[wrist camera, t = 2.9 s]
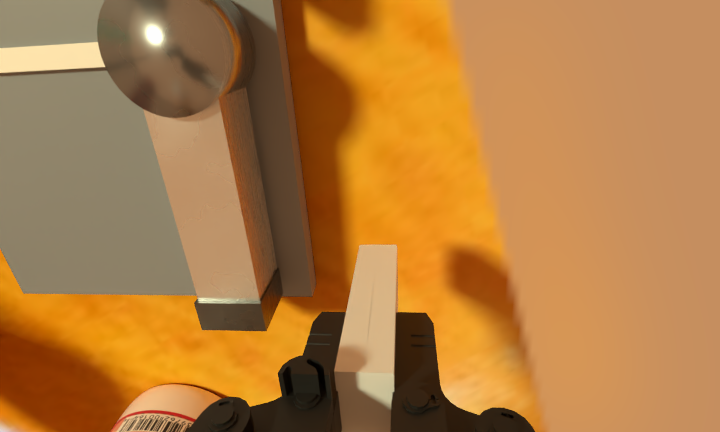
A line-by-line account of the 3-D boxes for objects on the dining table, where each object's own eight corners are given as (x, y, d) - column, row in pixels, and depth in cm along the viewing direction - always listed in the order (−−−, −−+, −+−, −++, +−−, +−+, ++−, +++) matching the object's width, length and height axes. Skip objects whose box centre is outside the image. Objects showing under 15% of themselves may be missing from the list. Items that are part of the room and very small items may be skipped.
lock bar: (138, -9, 15) (77, -18, 12) (245, -18, 15) (208, -29, 12) (216, 292, 21) (188, 332, 19) (294, 292, 21) (277, 334, 18)
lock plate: (-260, -329, 14) (-581, -504, 9) (226, -426, 12) (120, -707, 7) (39, 282, 25) (-40, 337, 20) (316, 284, 23) (295, 346, 18)
